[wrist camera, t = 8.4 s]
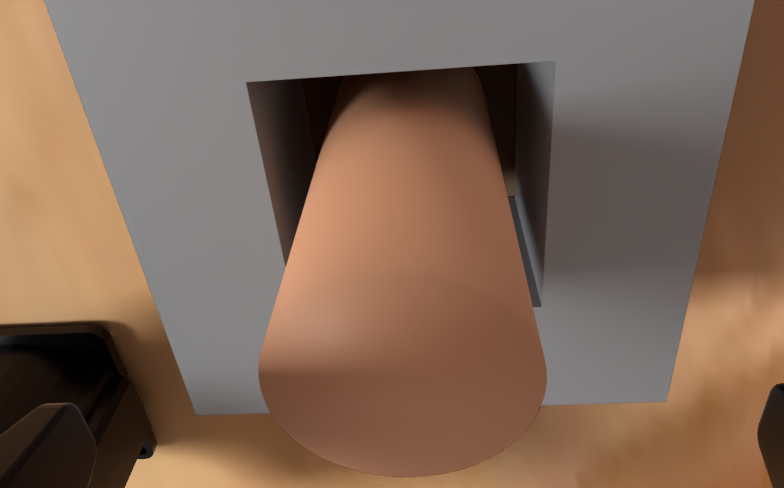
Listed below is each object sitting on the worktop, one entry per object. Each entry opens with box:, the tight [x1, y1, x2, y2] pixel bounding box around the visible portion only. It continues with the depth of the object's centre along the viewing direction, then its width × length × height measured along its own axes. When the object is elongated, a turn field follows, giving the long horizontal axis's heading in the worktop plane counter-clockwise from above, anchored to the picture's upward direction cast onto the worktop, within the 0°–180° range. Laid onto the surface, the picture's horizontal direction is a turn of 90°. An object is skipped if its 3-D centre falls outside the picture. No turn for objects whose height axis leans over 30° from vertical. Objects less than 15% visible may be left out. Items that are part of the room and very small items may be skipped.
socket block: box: [44, 0, 755, 415], centre depth 15 cm, size 12×12×5 cm
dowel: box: [258, 67, 547, 477], centre depth 13 cm, size 4×4×10 cm
